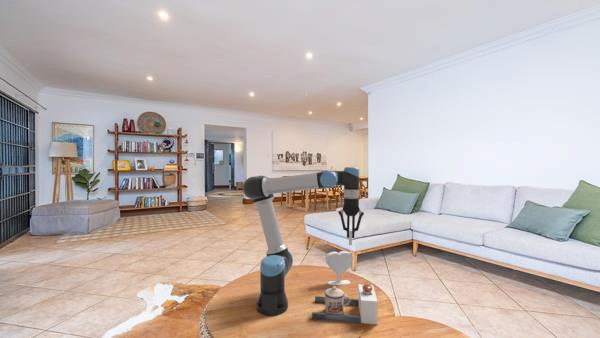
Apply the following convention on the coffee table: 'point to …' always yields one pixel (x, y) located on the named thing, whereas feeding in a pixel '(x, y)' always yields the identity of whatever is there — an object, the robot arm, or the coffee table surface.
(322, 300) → the pair of grey rails
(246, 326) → the coffee table surface
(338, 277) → the heart sculpture
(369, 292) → the red knob
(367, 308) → the end cabinet
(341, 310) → the teacup with lid
